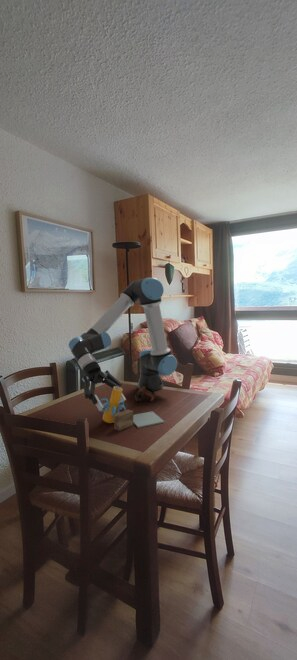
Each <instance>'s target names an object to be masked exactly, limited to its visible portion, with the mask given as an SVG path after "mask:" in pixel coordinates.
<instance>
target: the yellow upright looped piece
mask: <svg viewBox="0 0 297 660" xmlns="http://www.w3.org/2000/svg"><path fill="white" fill-rule="evenodd" d="M122 392H123V388H122V386H121V387H117V386H115V387H114V388H112V391H111V395H110V398H109V400H108V398H105V397H103V398H101V399H99V400H100V402H101V404H102V405H103V407H104V408H103V409H102V410H101V411H100V412H102V413H103V415H102V420H103V421H104V422H105V423H107V424H114V415H115V414H118V413H120V411H119V410H122V409H124V411H125V410H127V408H126V406H125V401H124V402H123V401H120V397H121V394H122ZM103 401H106V402H104V403H103ZM121 403H122V404H121Z"/></svg>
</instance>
